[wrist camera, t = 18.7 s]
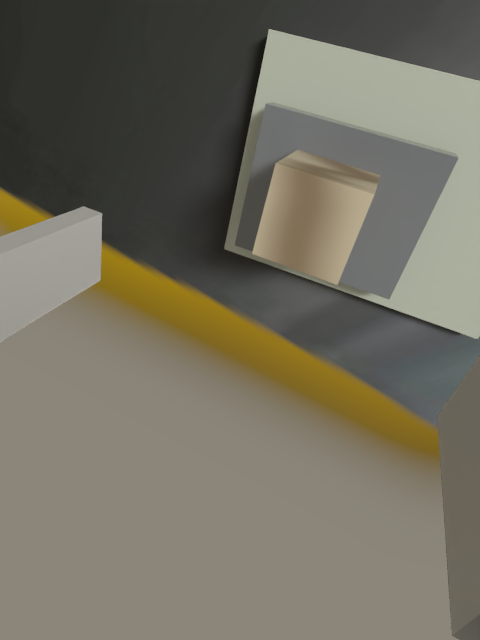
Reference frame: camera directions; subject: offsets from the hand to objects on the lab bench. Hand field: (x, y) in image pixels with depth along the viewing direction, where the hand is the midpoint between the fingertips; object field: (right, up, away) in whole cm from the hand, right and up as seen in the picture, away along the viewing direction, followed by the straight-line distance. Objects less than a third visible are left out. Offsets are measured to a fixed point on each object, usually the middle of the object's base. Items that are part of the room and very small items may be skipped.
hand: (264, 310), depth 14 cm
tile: (+10, +5, +11) cm, 16 cm away
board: (+9, +8, +13) cm, 17 cm away
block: (+4, +7, +11) cm, 14 cm away
